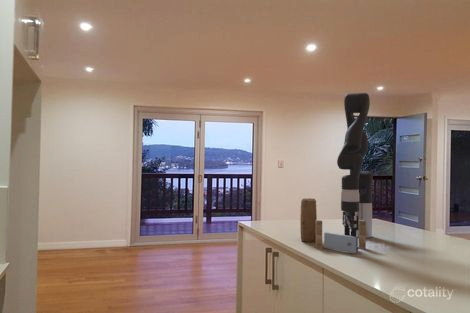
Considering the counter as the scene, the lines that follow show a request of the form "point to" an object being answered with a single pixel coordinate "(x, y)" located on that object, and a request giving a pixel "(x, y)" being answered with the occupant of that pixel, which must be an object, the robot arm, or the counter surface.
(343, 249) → the door
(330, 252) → the counter surface
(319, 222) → the frame
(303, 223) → the brown bread loaf
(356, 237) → the gray rectangular block
